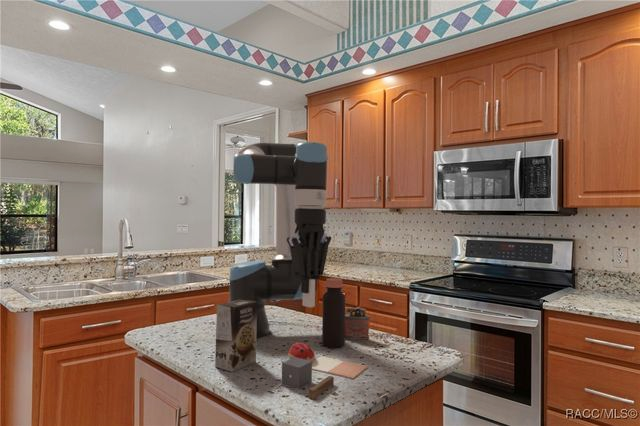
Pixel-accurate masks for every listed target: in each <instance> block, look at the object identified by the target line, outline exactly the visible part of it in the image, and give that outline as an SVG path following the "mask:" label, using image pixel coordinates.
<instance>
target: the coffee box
mask: <svg viewBox="0 0 640 426" xmlns="http://www.w3.org/2000/svg"><path fill="white" fill-rule="evenodd" d="M215 325H216V329H215V330H216V331H215V357H214V358H215V360H214V362H215V363H214V367H215V368H218V369H222V370H225V371H228V372H235V371H238V370H241V369H242V368H244V367H247V366H249V365H252V364H254V363H256V362H257V337H256V334H257V302H256V301H250V300H241V299H240V300H235V301H231V302H229V301H227V302H222V303H217V304H216V323H215Z"/></svg>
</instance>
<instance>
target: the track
mask: <svg viewBox="0 0 640 426" xmlns="http://www.w3.org/2000/svg"><path fill="white" fill-rule="evenodd" d="M290 359H291V358H290V357H289V356H288V357H286V358H285V359H283V360H281V364H282V363H283V362H285V361H287V360H290ZM368 367H369V366H368V365H364V364H360V363H355V362H351V361H350V362H349V361H344V360H341V359H336V358H331V357H330V358H329V357H327V356H326V357H325V356H321V355H316V354H315V359H314V361H312V371H317V372H322V373H326V374H330V375H335V376H338V377H343V378H348V379H355V378H356V377H357V376H359V375H360V374H362V373H363V372H364V371H365V370H367V369H368Z"/></svg>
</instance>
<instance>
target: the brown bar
mask: <svg viewBox="0 0 640 426" xmlns="http://www.w3.org/2000/svg"><path fill="white" fill-rule="evenodd" d="M334 378H335V377H334V376H332V375H328V376H327V377H325V378H324V379H323V380H321V381H319V382H318V383H316V384H315V385H313V386H311V388H309V389H308V399H311V400H315V399H316V398H318V397H319V396H320V395H322V394H323V393H324V392H326V391H327V390H329V389H330V388H331V387H333V386H334V385H335V383H334V381H335V379H334Z"/></svg>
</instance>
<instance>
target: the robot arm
mask: <svg viewBox="0 0 640 426" xmlns="http://www.w3.org/2000/svg"><path fill="white" fill-rule="evenodd" d="M328 161H329V157H328V149H327V146H326V144H324V143H323V142H315V141H313V142H312V141H309V142H308V141H307V142H306V141H305V142H304V141H303V142H299V143H298V144H297V143H276V142H275V143H274V142H257V143H256V142H255V143H251V144H248V145H246V146H244V147H242V148H241V149H240V150H239V151H238V153H236V154H234V155H233V164H232V165H233V172H232V173H233V177H232V178H233V182H235V184H236V183H237V184H244V185H249V184H253V185H255V184H256V185H257V184H258V185H259V184H260V185H274V186H275V192H276V193H275V196H276V197H275V206H276V207H275V213H276V214H275V237H276V238H275V255H274V257H272V258H271V264H270V265H269V264H266V261H265V260H252V261H244V262H239V263H236V264H233V265H232V266H231V267H230V269H229V279H228V281H229V293H228V295H229V296H228V302H231V301H235V300H240V299H241V300H250V301H256V302H257V334H256V338H260V337H265V336H267V335H268V334H269V333H270V323H269V320H268V315H267V313H266V308H265V307H266V306H265V305H266V304H265V302H266V301H284V300H285V301H290V300H291V301H294V300H302V304H301V305H302V306H303V307H306V308H307V307H308V308H315V305H316V304H315V303H316V298H315V297H316V292H317V281H318V280H320V279H321V276H323V275H324V272H325V266H326V261H327V255H328V252H329V251H328V249H329V246H330V244H331V241H332V236H330V235H327V234H326V233H325V229H324V228H325V227H324V225H325V224H326V223H327V221H326V220H327V210H326V208H325V207H326V206H327V174H328V173H327V171H328Z"/></svg>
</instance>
